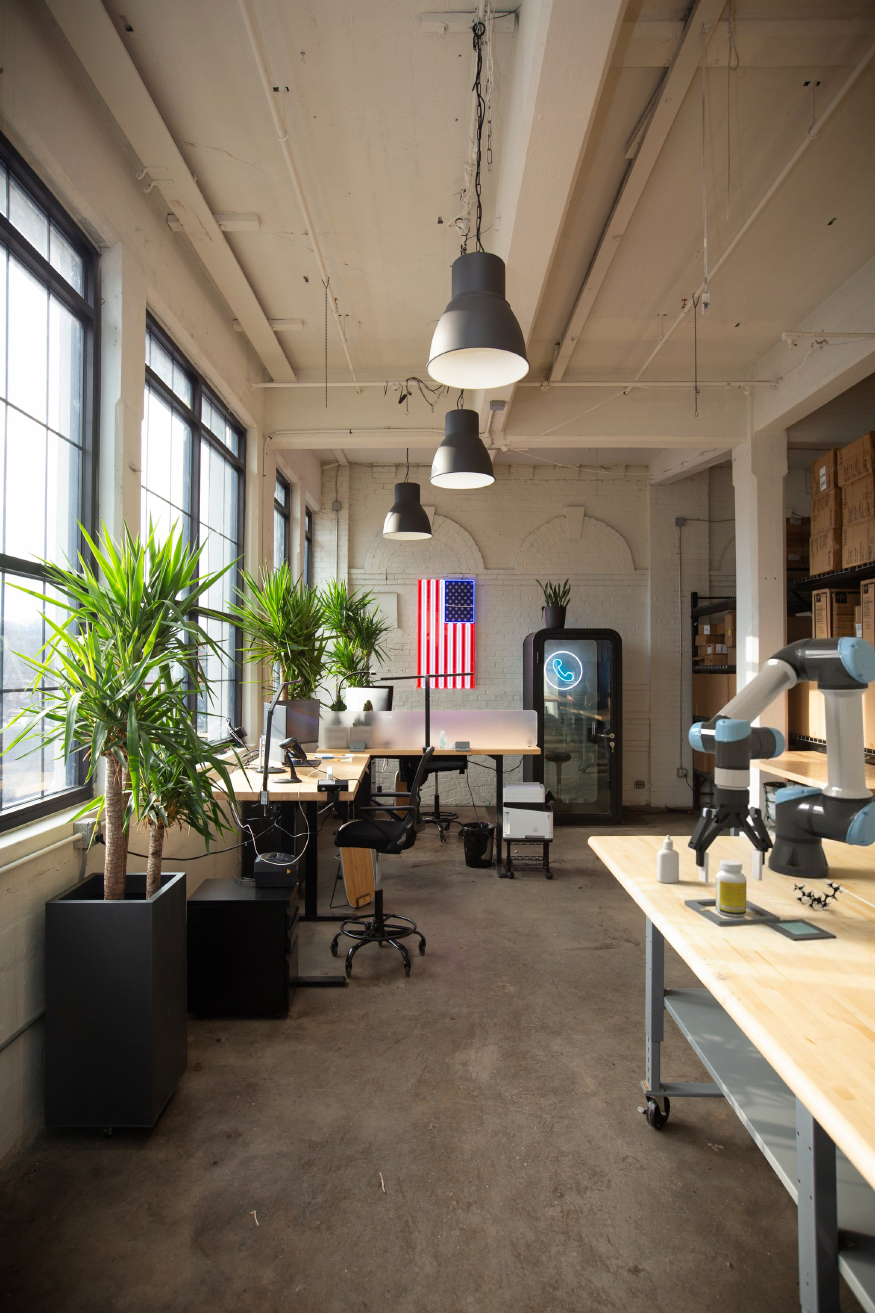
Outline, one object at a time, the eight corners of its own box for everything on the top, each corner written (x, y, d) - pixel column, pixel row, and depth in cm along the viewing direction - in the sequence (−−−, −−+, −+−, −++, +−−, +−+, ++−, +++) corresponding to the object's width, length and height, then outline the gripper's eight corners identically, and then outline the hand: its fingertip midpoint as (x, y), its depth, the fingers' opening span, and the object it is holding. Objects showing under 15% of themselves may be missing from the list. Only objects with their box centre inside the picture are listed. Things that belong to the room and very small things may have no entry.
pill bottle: (749, 919, 158) (749, 867, 158) (718, 917, 159) (719, 865, 159) (742, 909, 164) (743, 859, 164) (713, 907, 165) (713, 857, 166)
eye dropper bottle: (656, 878, 188) (656, 833, 188) (678, 880, 187) (678, 834, 187) (656, 883, 184) (657, 836, 184) (679, 885, 182) (679, 838, 183)
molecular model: (805, 897, 174) (805, 863, 174) (848, 918, 159) (847, 881, 159) (781, 898, 173) (781, 864, 173) (822, 920, 158) (821, 883, 159)
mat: (802, 920, 157) (802, 918, 157) (836, 937, 147) (836, 935, 147) (762, 923, 155) (762, 921, 155) (793, 940, 146) (793, 938, 146)
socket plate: (741, 901, 170) (741, 896, 170) (781, 922, 156) (781, 917, 156) (684, 904, 167) (684, 899, 167) (720, 926, 153) (720, 921, 153)
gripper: (769, 784, 168) (767, 873, 168) (673, 784, 163) (671, 876, 163) (791, 789, 161) (789, 883, 160) (691, 789, 156) (689, 886, 155)
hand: (730, 880), depth 162 cm, fingers open, 13 cm apart
